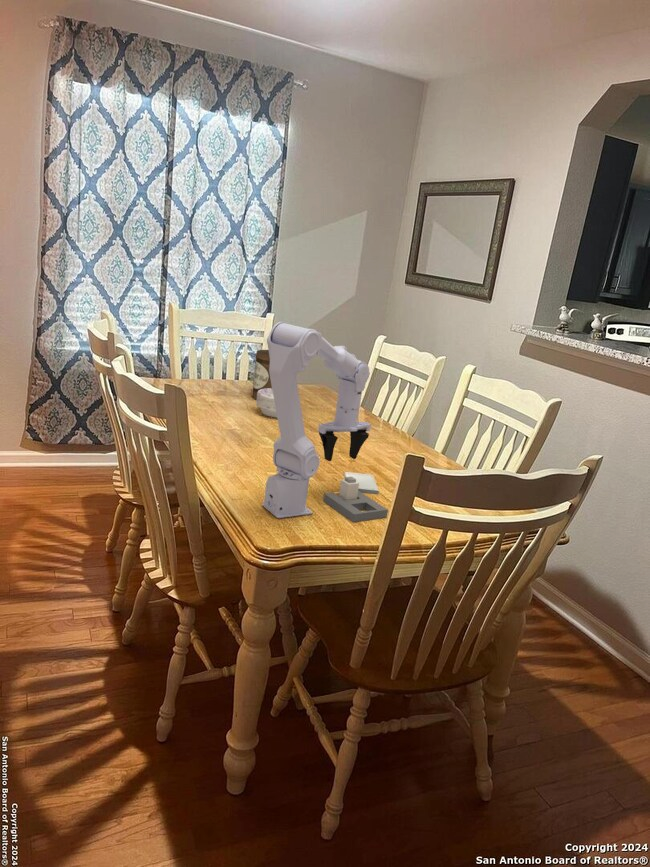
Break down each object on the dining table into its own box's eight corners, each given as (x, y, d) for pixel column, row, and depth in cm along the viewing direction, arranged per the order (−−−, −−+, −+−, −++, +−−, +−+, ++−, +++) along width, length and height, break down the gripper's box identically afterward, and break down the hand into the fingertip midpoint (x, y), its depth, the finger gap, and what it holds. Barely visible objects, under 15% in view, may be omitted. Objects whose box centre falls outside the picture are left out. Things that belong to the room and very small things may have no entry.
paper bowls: (296, 423, 228) (298, 401, 226) (252, 417, 228) (254, 395, 226) (298, 412, 243) (301, 391, 240) (257, 406, 242) (260, 386, 240)
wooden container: (248, 393, 261) (254, 338, 255) (284, 395, 266) (290, 341, 260) (256, 403, 248) (262, 345, 242) (293, 405, 252) (300, 348, 246)
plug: (345, 507, 161) (349, 481, 159) (337, 502, 163) (341, 476, 161) (355, 505, 162) (359, 480, 160) (348, 500, 165) (352, 475, 163)
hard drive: (379, 490, 172) (373, 474, 183) (348, 487, 171) (344, 471, 183) (378, 496, 172) (372, 479, 184) (347, 493, 171) (343, 476, 183)
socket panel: (353, 522, 152) (354, 514, 152) (323, 500, 162) (324, 493, 162) (386, 517, 158) (387, 509, 157) (355, 496, 168) (356, 489, 167)
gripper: (332, 412, 155) (324, 466, 159) (380, 410, 163) (372, 462, 167) (316, 404, 161) (309, 456, 164) (364, 403, 169) (356, 453, 172)
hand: (340, 458), depth 166 cm, fingers open, 7 cm apart
